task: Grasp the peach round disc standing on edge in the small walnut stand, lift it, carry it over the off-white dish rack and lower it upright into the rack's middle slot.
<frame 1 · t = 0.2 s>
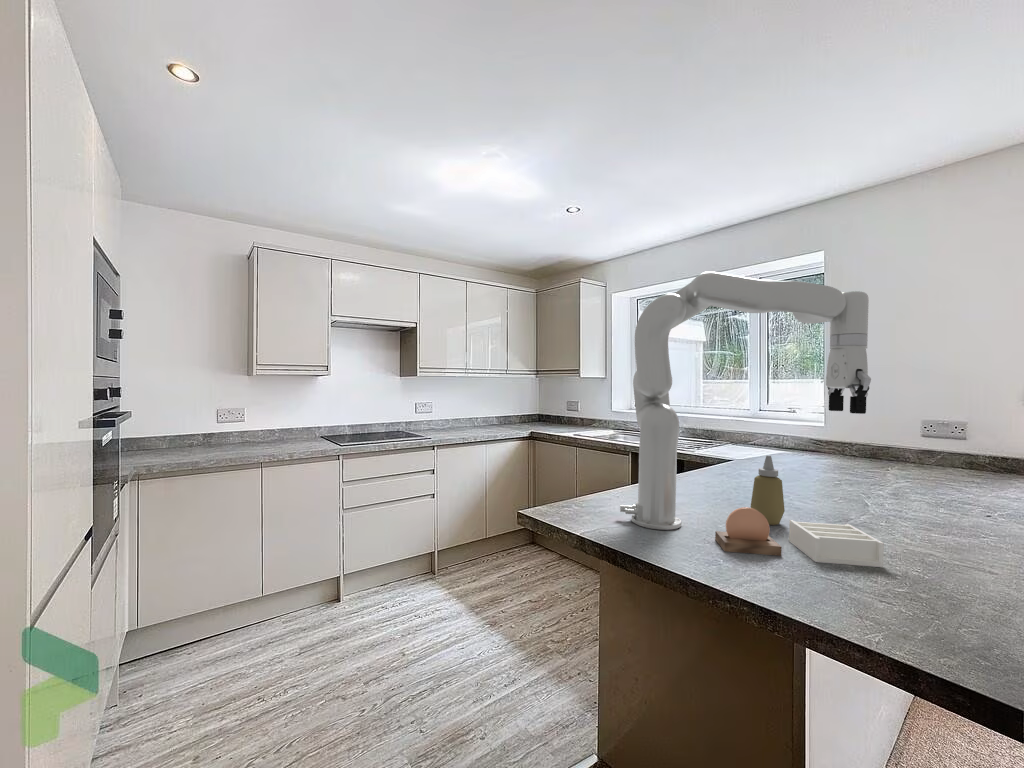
hand: (846, 412, 114), 31 cm above the countertop, fingers open, 9 cm apart
rack: (832, 553, 103), on the countertop
peach round disc: (747, 527, 105), point 4 cm above the countertop
stand: (746, 547, 105), on the countertop
squeeze bottle: (766, 523, 125), on the countertop
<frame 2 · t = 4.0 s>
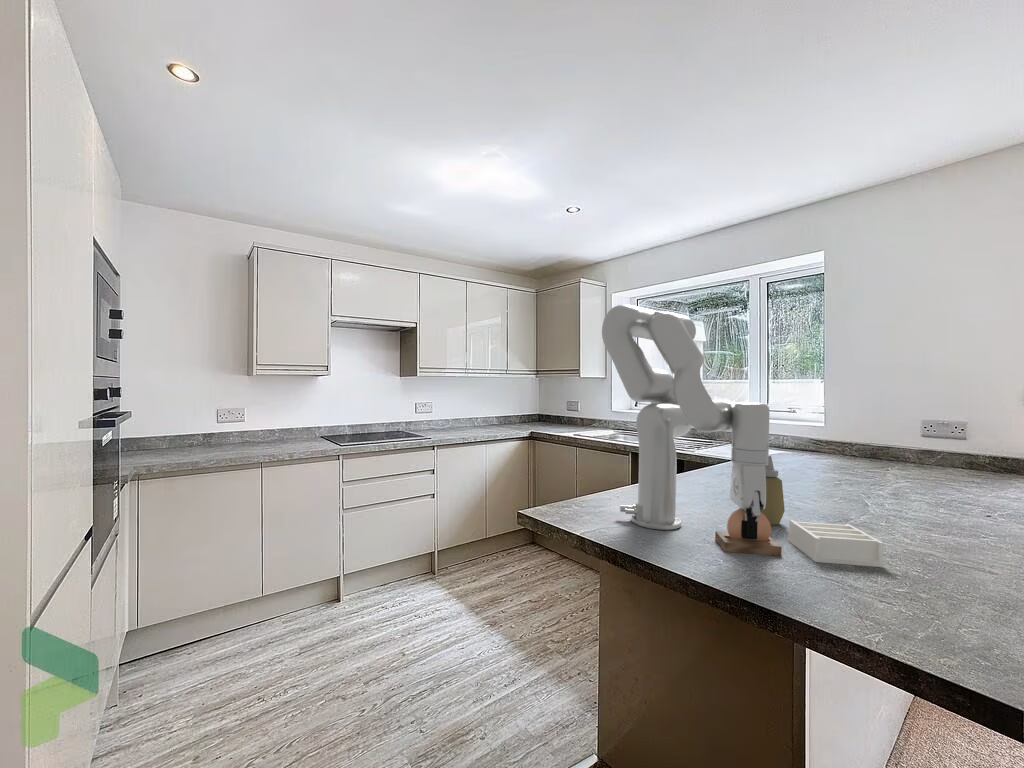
hand: (747, 536, 105), 2 cm above the countertop, fingers closed on peach round disc, 1 cm apart
peach round disc: (748, 527, 105), point 5 cm above the countertop, touching gripper
everything else where it was.
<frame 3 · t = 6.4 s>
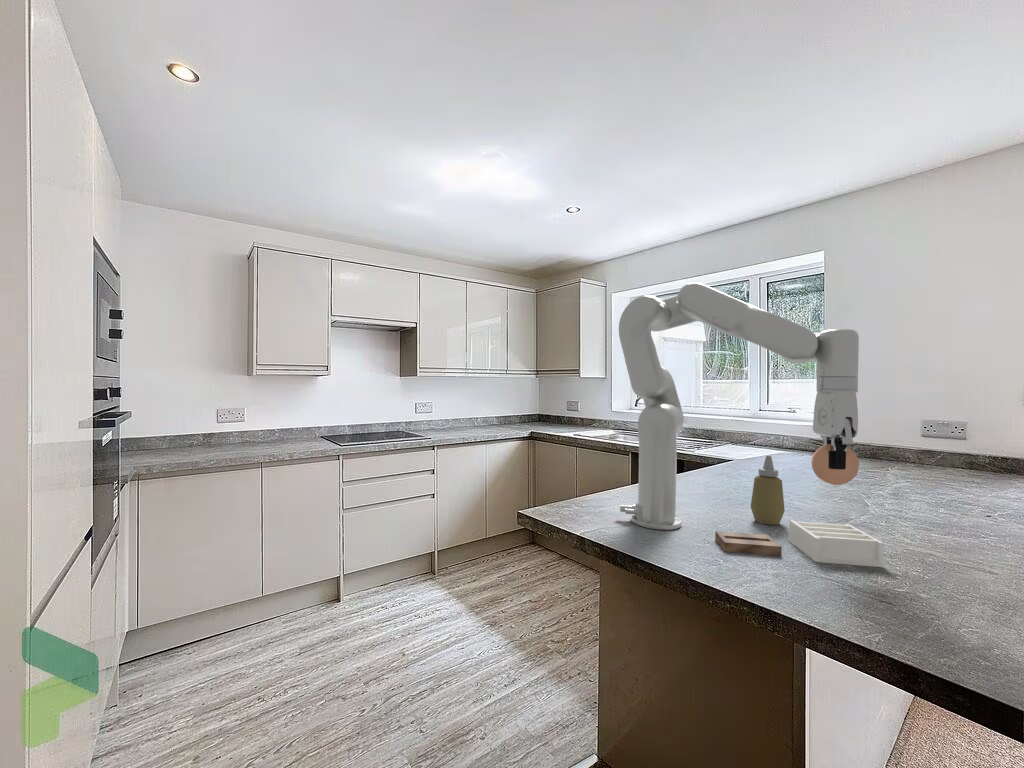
hand: (835, 467, 102), 19 cm above the countertop, fingers closed on peach round disc, 1 cm apart
peach round disc: (834, 463, 102), point 20 cm above the countertop, tilted 16°, touching gripper
everything else where it was.
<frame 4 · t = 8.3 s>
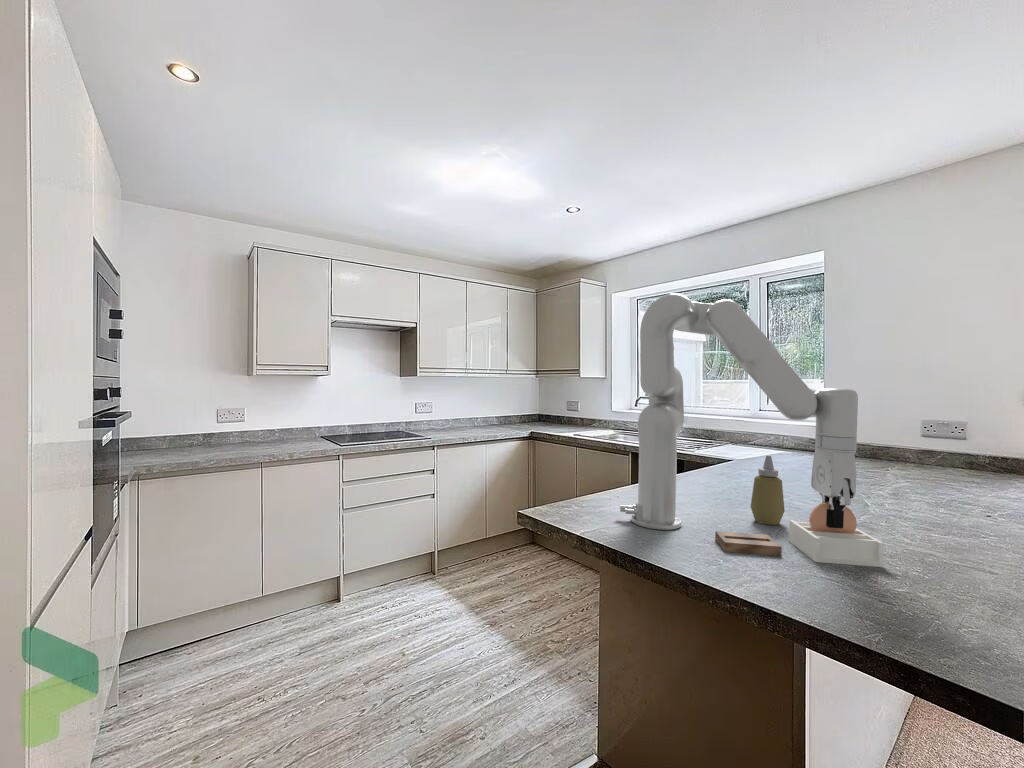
hand: (832, 526, 103), 6 cm above the countertop, fingers closed on peach round disc, 1 cm apart
peach round disc: (832, 522, 103), point 7 cm above the countertop, tilted 35°, touching gripper
everything else where it was.
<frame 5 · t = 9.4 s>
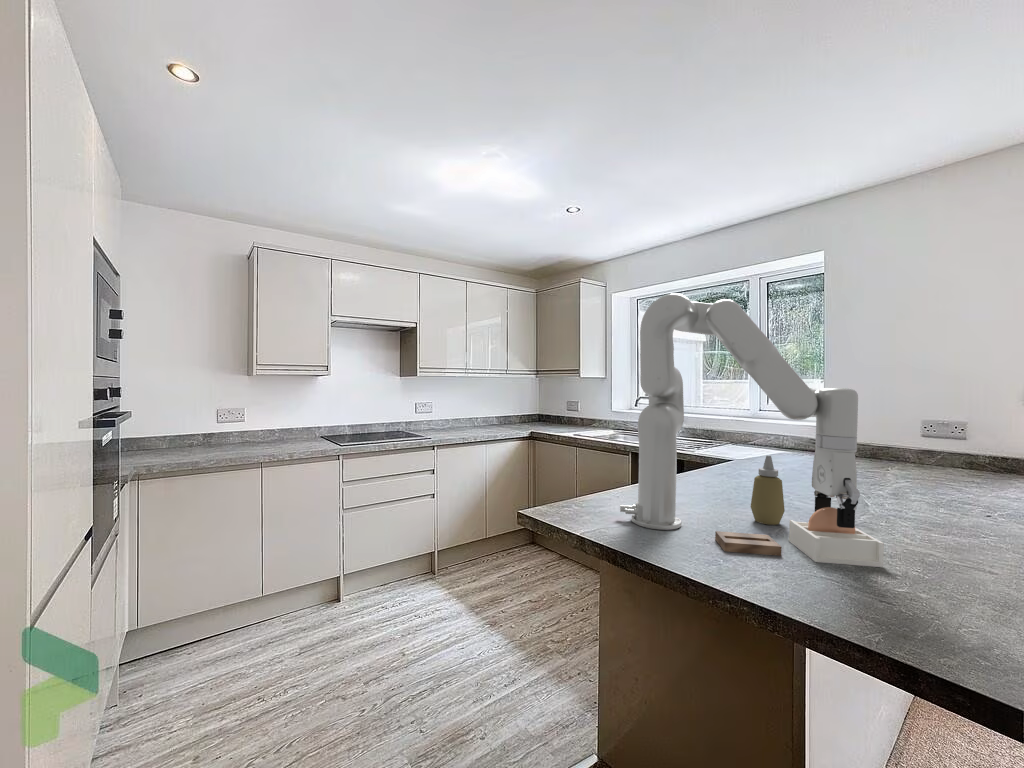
hand: (833, 520, 103), 7 cm above the countertop, fingers open, 9 cm apart
peach round disc: (831, 528, 103), point 6 cm above the countertop, tilted 35°, touching rack
everything else where it was.
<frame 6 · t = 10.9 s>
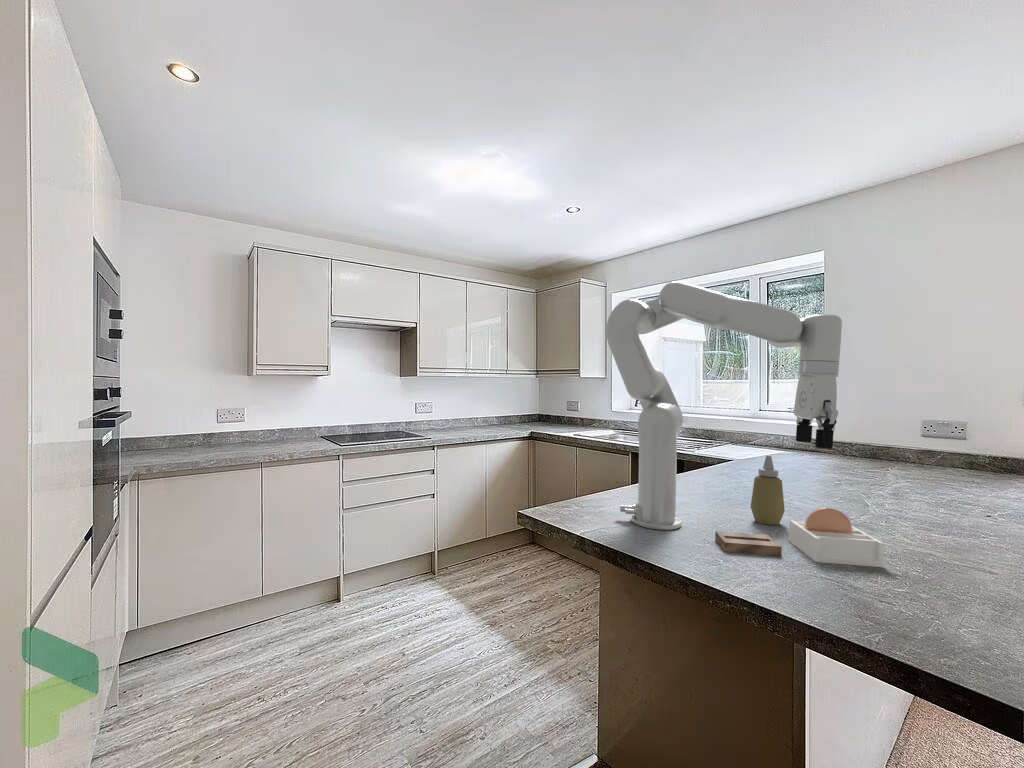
hand: (813, 444, 105), 24 cm above the countertop, fingers open, 9 cm apart
peach round disc: (828, 528, 103), point 6 cm above the countertop, tilted 26°, touching rack
everything else where it was.
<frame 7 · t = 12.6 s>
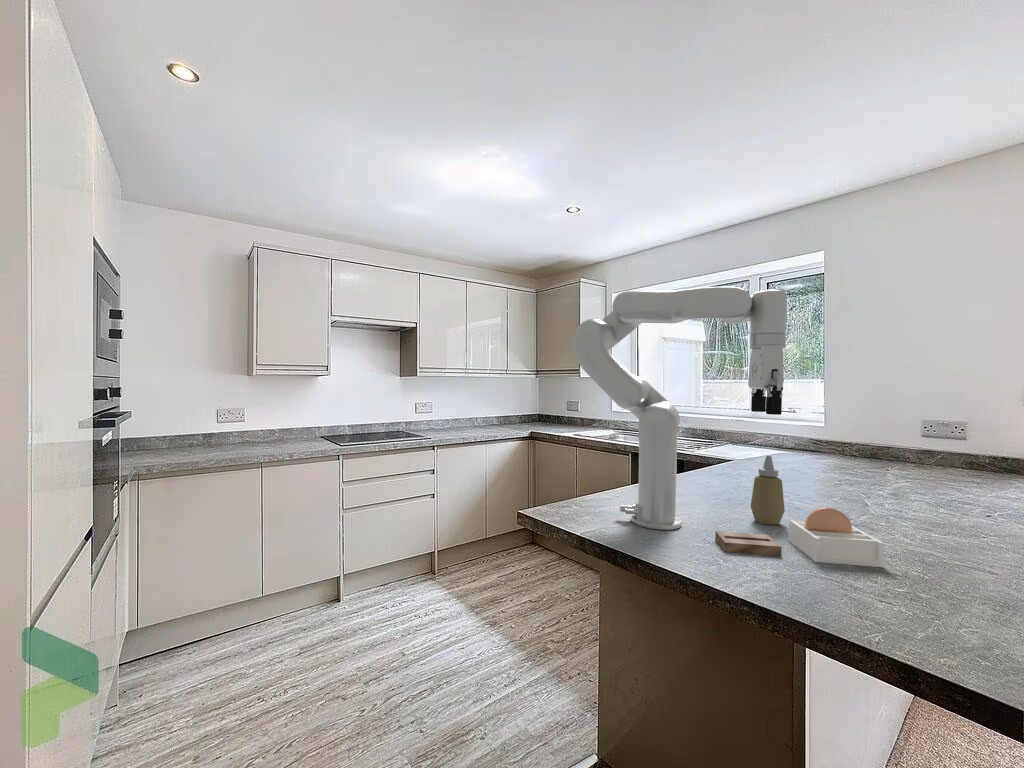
hand: (765, 413, 112), 30 cm above the countertop, fingers open, 9 cm apart
nothing on the countertop moved.
at the end: peach round disc 1.0 cm off-centre on the rack, point 5.5 cm above the rack's base; peach round disc touching rack; the gripper is holding nothing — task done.
